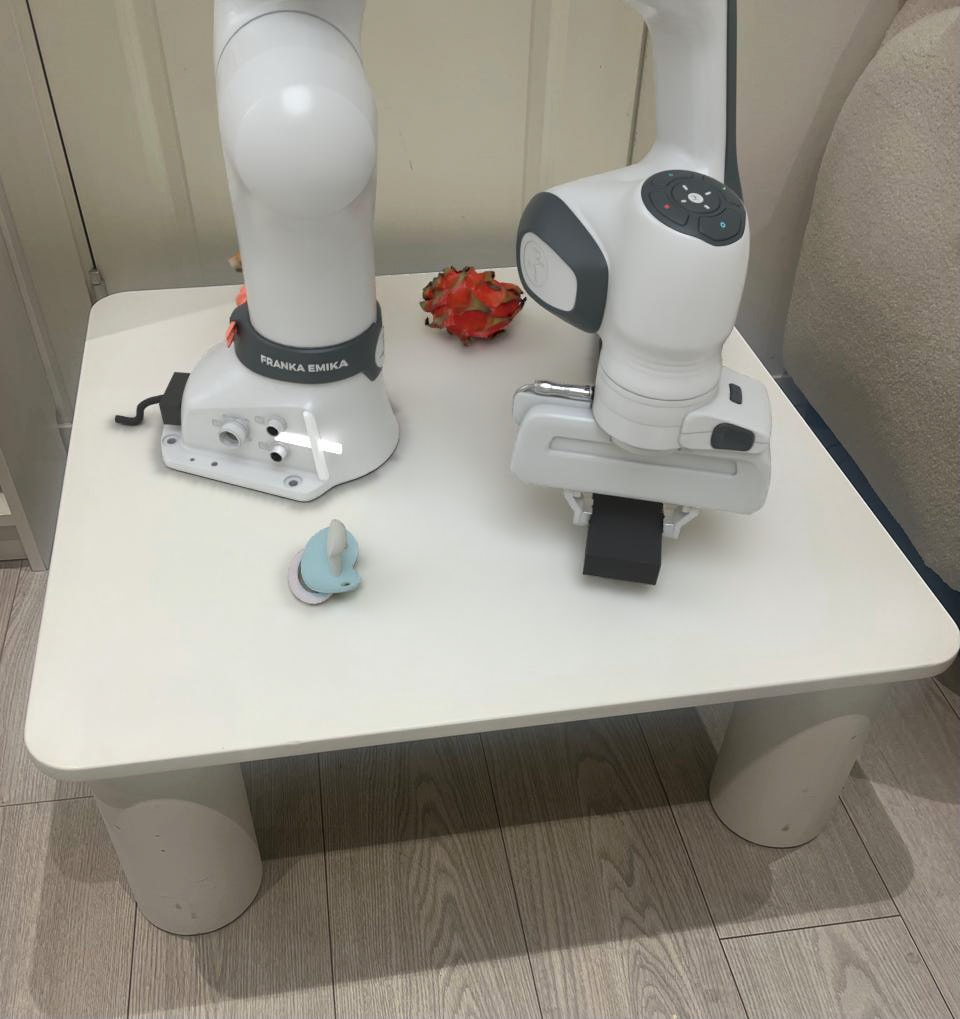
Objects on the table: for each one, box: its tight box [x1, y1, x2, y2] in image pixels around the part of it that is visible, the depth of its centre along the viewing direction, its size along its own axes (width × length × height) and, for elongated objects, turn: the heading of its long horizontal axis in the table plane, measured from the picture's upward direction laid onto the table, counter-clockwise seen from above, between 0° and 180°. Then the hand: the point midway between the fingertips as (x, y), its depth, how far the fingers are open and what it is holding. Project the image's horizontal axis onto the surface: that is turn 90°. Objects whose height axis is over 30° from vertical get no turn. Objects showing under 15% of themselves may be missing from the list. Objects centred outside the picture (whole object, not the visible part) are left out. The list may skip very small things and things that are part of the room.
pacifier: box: [287, 518, 361, 605], centre depth 83 cm, size 7×6×6 cm
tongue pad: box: [582, 493, 664, 586], centre depth 86 cm, size 12×6×2 cm, turn 171°
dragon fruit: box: [418, 265, 528, 346], centre depth 109 cm, size 8×8×12 cm
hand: (625, 526), depth 85 cm, fingers closed on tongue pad, 6 cm apart
